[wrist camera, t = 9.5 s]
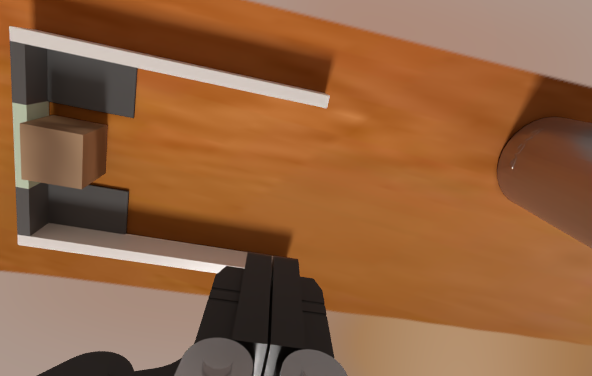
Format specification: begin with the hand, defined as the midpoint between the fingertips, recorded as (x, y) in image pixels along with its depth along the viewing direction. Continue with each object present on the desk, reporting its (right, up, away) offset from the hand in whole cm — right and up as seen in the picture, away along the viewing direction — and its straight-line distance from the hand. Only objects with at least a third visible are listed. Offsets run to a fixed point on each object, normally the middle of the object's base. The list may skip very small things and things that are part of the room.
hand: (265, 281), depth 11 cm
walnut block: (-18, +7, +21) cm, 29 cm away
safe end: (-21, +7, +21) cm, 31 cm away
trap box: (-10, +5, +22) cm, 25 cm away
